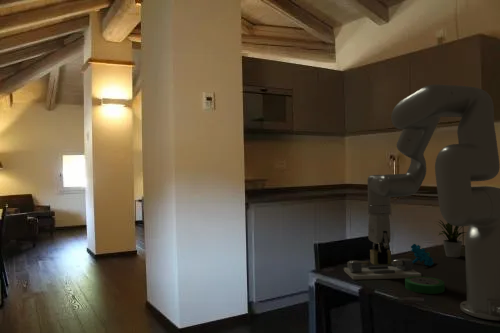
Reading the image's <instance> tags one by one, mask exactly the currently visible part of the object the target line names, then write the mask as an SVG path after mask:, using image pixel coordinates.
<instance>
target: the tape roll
mask: <svg viewBox="0 0 500 333" xmlns="http://www.w3.org/2000/svg"><path fill="white" fill-rule="evenodd" d="M404 287H405V289H406V290H409V291H410V292H414V293H417V294H427V295H430V294H431V295H432V294H436V295H437V294H442V293H444V292H445V291H446V290H445V282H444V281H443V280H441V279H440V278H437V277H436V278H435V277H431V276H422V275H421V276H412V277H407V278H404Z"/></svg>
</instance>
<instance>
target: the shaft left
mask: <svg viewBox="0 0 500 333" xmlns="http://www.w3.org/2000/svg"><path fill="white" fill-rule="evenodd" d="M346 266H347V268H348V269H349V270H350V271H351V272H352V273H362V268H369V266H370V261H368V260H359V259H357V260H355V259H353V260H351V259H350V260H349V261H347V262H346Z"/></svg>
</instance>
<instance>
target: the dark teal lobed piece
mask: <svg viewBox="0 0 500 333" xmlns="http://www.w3.org/2000/svg"><path fill="white" fill-rule="evenodd" d="M410 248H411V249H410V250H411V252H412V253H413V254H414V257H415V259H414V260H412V262H413V264H412V265H414V263H415V264H416V263H418V261H419V262H420V263H422V262H423V264H424V265H425V266H428V267H432V266H433V265H434V264H435V262H434V261H433V260H434V259H433V257H430V256H431V253H430V252H429V251H428V252H426V249H425V248H421V245H419V244H416V243H413V244H412V245H411V246H410Z"/></svg>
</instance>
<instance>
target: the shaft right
mask: <svg viewBox="0 0 500 333" xmlns="http://www.w3.org/2000/svg"><path fill="white" fill-rule="evenodd" d="M412 261H413V260H412V258H406V257H400V258H396V259H393V260H392V259H391V264H390V265H391V266H393V267H397V268H398V269H401V270H404V271H409V270H412V269H413V265H414V264H413V262H412Z"/></svg>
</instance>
